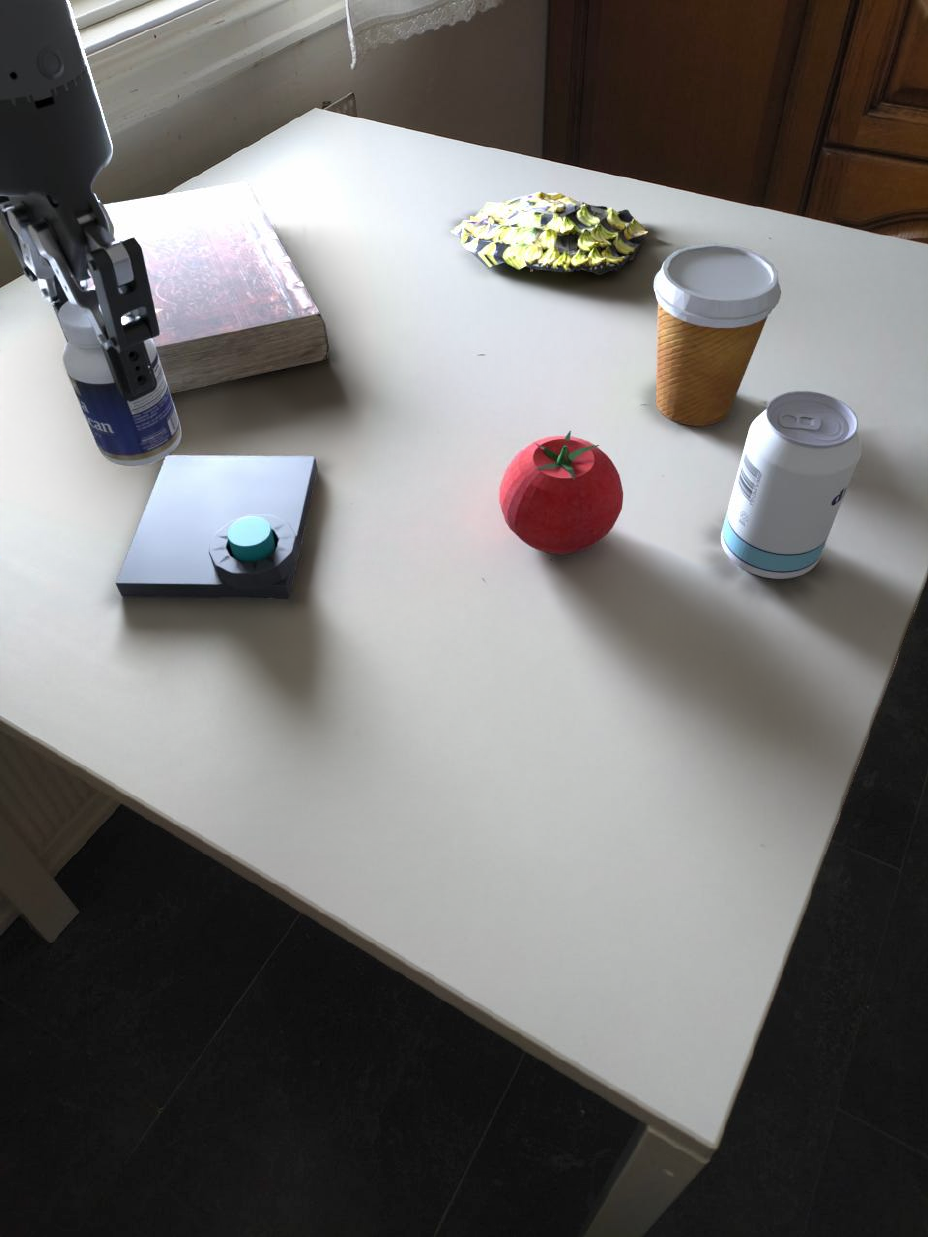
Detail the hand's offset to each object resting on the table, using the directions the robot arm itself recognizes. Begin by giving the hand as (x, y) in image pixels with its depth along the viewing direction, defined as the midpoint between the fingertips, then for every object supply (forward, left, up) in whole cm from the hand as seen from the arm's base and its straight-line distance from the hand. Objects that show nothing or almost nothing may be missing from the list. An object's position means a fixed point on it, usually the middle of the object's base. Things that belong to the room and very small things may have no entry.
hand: (115, 372), depth 55 cm
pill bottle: (0, 0, -6) cm, 6 cm away
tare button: (-2, -6, -13) cm, 14 cm away
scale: (+2, -3, -15) cm, 16 cm away
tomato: (+2, -28, -15) cm, 32 cm away
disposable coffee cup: (+18, -40, -15) cm, 47 cm away
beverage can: (0, -43, -15) cm, 46 cm away
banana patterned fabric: (+46, -28, -15) cm, 56 cm away
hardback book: (+34, +6, -15) cm, 38 cm away
